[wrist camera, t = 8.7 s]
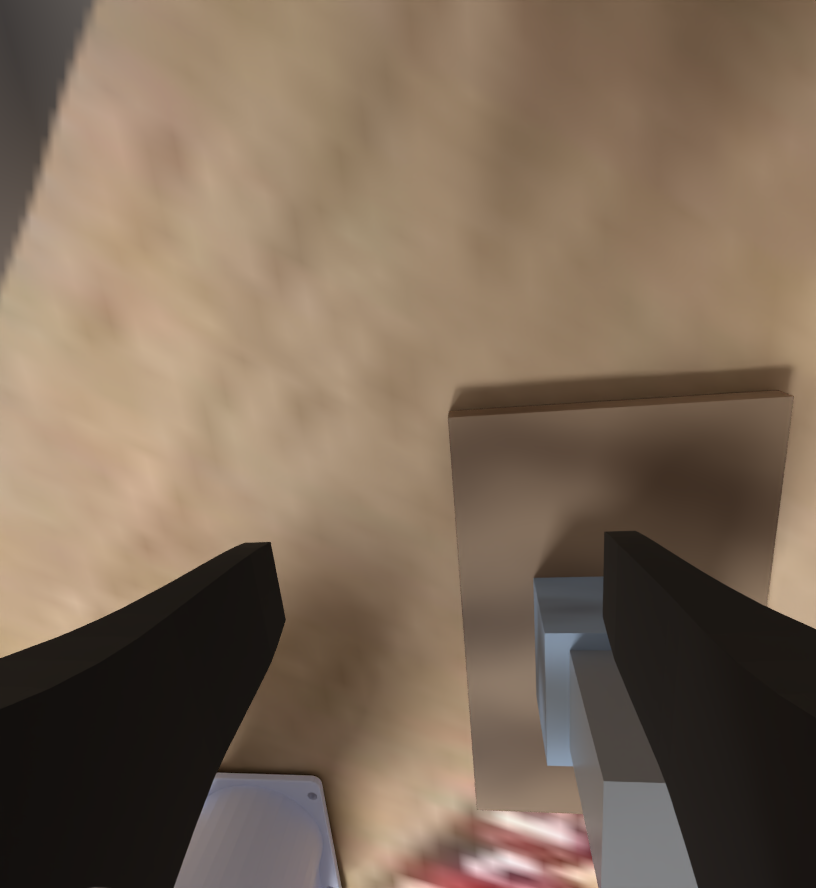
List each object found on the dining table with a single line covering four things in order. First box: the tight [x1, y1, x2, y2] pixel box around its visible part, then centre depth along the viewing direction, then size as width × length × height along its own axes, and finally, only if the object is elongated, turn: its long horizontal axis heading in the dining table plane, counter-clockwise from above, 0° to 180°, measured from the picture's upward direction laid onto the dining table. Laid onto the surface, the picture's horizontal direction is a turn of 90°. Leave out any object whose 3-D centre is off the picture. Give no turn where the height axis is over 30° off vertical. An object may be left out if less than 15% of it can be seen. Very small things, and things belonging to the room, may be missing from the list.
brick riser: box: [448, 390, 794, 814], centre depth 21 cm, size 20×12×4 cm, turn 5°
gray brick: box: [570, 650, 698, 888], centre depth 16 cm, size 4×4×5 cm
